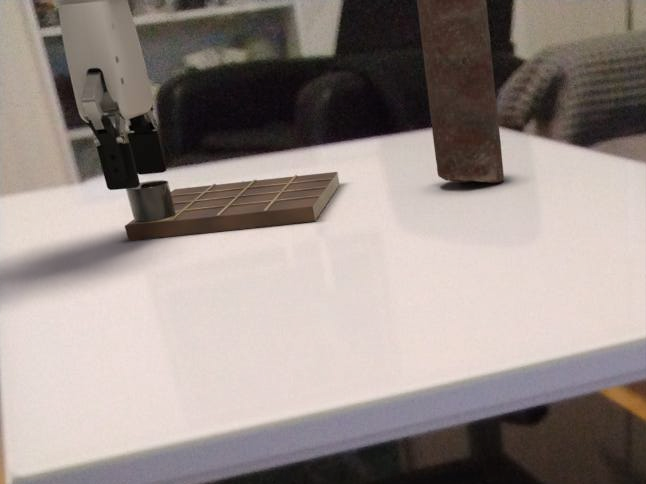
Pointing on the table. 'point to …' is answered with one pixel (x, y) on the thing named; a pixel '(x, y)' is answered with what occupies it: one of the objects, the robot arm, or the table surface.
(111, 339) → the table surface
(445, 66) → the brown tall block
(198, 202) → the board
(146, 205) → the short grey cylinder
